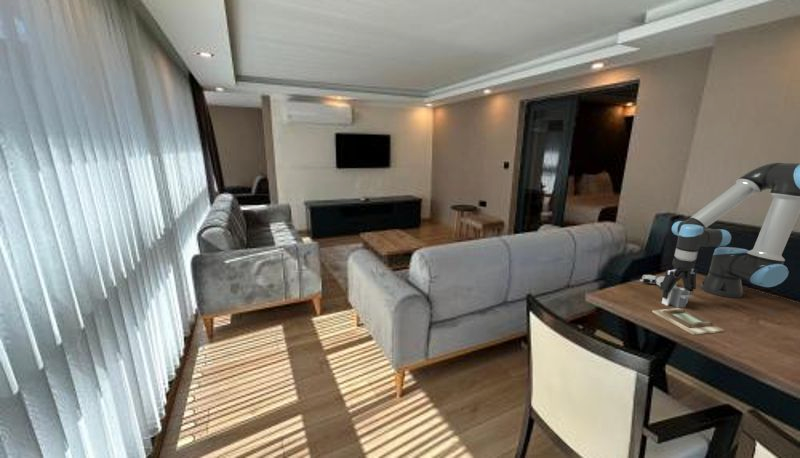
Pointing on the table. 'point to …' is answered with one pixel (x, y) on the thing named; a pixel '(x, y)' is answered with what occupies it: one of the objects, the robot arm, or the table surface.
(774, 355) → the table surface
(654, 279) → the robot toy
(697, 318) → the pocket board
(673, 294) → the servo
